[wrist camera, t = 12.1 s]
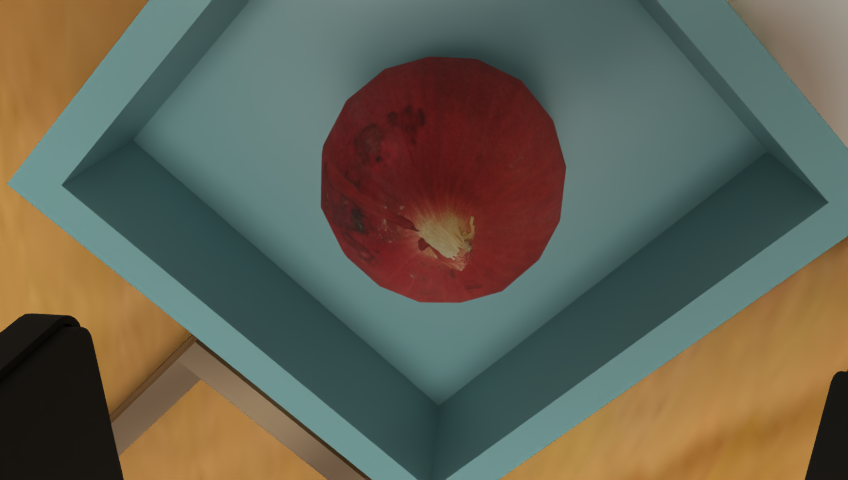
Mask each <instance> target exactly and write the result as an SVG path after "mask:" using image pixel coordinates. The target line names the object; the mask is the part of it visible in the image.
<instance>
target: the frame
mask: <svg viewBox="0 0 848 480" xmlns="http://www.w3.org/2000/svg"><path fill="white" fill-rule="evenodd" d="M200 379H202V380H203V381H204V382H205V383H207V384H208V385H209V386H211V387H212V388H213V389H214V390H216V391H217V392H218V393H219V394H221V395H222V396H223V397H224V398H226V399H227V400H228V401H229V402H231V403H232V404H233V405H234V406H236V407H237V408H238V409H239V410H241V411H242V412H243V413H245V414H246V415H247V416H248V417H250V418H251V419H252V420H253V421H255V422H256V423H257V424H258V425H260V426H261V427H262V428H263V429H265V430H266V431H267V432H268V433H270V434H271V435H272V436H274V437H275V438H276V439H277V440H279V441H280V442H281V443H282V444H284V445H285V446H286V447H287V448H289V449H290V450H291V451H292V452H294V453H295V454H296V455H297V456H299V457H300V458H301V459H303V460H304V461H305V462H306V463H308V464H309V465H310V466H311V467H313V468H314V469H315V470H316V471H318V472H319V473H320V474H321V475H323V476H324V477H325V478H326V479H328V480H372V479H371V478H370V477H368V476H367V475H366V474H365V473H363V472H362V471H361V470H360V469H358V468H357V467H356V466H355V465H353V464H352V463H351V462H350V461H349V460H347V459H346V458H345V457H344V456H342V455H341V454H340V453H339V452H337V451H336V450H335V449H334V448H332V447H331V446H330V445H329V444H328V443H326V442H325V441H324V440H323V439H321V438H320V437H319V436H318V435H316V434H315V433H314V432H313V431H311V430H310V429H309V428H308V427H307V426H305V425H304V424H303V423H302V422H300V421H299V420H298V419H297V418H295V417H294V416H293V415H292V414H290V413H289V412H288V411H287V410H286V409H284V408H283V407H282V406H281V405H279V404H278V403H277V402H276V401H274V400H273V399H272V398H271V397H269V396H268V395H267V394H266V393H264V392H263V391H262V390H261V389H260V388H258V387H257V386H256V385H255V384H253V383H252V382H251V381H250V380H248V379H247V378H246V377H245V376H243V375H242V374H241V373H240V372H239V371H237V370H236V369H235V368H234V367H232V366H231V365H230V364H229V363H227V362H226V361H225V360H224V359H222V358H221V357H220V356H219V355H218V354H216V353H215V352H214V351H213V350H211V349H210V348H209V347H208V346H206V345H205V344H204V343H203V342H201V341H200V340H199V339H198V338H197V337H195V336H194V335H192V336H191V337H189V338H188V339H187V340H186V341H185V342H184V343H183V344H182V345H181V346H180V347H179V348H178V349H177V350H176V351H175V352H174V353H173V354H172V355H171V356H170V357H169V358H168V359H167V360H166V361H165V362H164V363H163V364H162V365H161V366H160V367H159V368H158V369H157V370H156V371H155V372H154V373H153V374H152V375H151V376H150V377H149V378H148V379H147V380H146V381H145V382H144V383H143V384H142V385H141V386H140V387H139V388H138V389H137V390H136V391H135V392H134V393H132V394H131V395H130V396H129V397H128V398H127V399H126V400H125V401H124V402H123V403H122V404H121V405H120V406H119V407H118V408H117V409H116V410H115V411H114V412H113V413H112V414H111V415H110V416H109V417H110V421H111V426H112V430H113V434H114V439H115V443H116V448H117V452H118V456H119V455H121V454H122V453H123V452H124V451H125V450H126V449H127V448H128V447H129V446H130V445H131V444H132V443H133V442H134V441H135V440H136V439H138V438H139V437H140V436H141V435H142V434H143V433H144V432H145V431H146V430H147V429H148V428H149V427H150V426H151V425H152V424H153V423H155V422H156V421H157V420H158V419H159V418H160V417H161V416H162V415H163V414H164V413H165V412H166V411H167V410H168V409H169V408H170V407H172V406H173V405H174V404H175V403H176V402H177V401H178V400H179V399H180V398H181V397H182V396H183V395H184V394H185V393H186V392H187V391H189V390H190V389H191V388H192V387H193V386H194V385H195V384H196V383H197V382H198V381H199V380H200Z"/></svg>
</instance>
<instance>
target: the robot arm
mask: <svg viewBox="0 0 848 480" xmlns="http://www.w3.org/2000/svg"><path fill="white" fill-rule="evenodd" d="M0 480H124V479H123V475H122V470H121V466H120V461H119V457H118V452H117V448H116V443H115V439H114V434H113V430H112V426H111V421H110V417H109V412H108V408H107V403H106V399H105V394H104V390H103V385H102V381H101V376H100V372H99V367H98V363H97V359H96V354H95V350H94V345H93V341H92V337H91V334H90V332H89V331H88V330H87V329H86V328H83V327H81V326H80V324H79V322H78V321H77V320H76V319H75V318H74V317H72V316H68V315H50V314H33V313H32V314H25V315H23V316H21V317H19V318H18V319H17V320H16V321H14V322H13V323H12V324H11V325H9V326H8V327H7V328H6V329H5V330H3V331H2V332H1V333H0ZM805 480H848V371H847V372H843V371H840V372H837V373H836V374H835V375H834V377H833V379H832V381H831V384H830V388H829V392H828V395H827V399H826V403H825V407H824V410H823V414H822V418H821V421H820V425H819V429H818V433H817V436H816V440H815V444H814V448H813V451H812V455H811V459H810V462H809V466H808V470H807V474H806V477H805Z"/></svg>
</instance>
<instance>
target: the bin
mask: <svg viewBox="0 0 848 480" xmlns="http://www.w3.org/2000/svg"><path fill="white" fill-rule="evenodd" d="M429 56H431V57H451V58H470V59H478V60H480V61H482V62H484V63H486V64H488V65H491V66H493V67H495V68H497V69H499V70H501V71H503V72H505V73H507V74H509V75H511V76H513V77H515V78H517V79H519V80H521V81H522V82H523V83H524V84H525V85H526V87H527V88H528V89H529V90H530V92H531V93H532V94H533V95H534V97H535V98H536V99H537V100H538V102H539V103H540V104H541V106H542V107H543V108H544V109H545V111H546V112H547V113H548V114H549V116H550V117H551V118H552V119H553V121H554V125H555V128H556V132H557V136H558V139H559V143H560V146H561V150H562V153H563V157H564V161H565V164H566V174H565V182H564V191H563V200H562V208H561V217H560V222H559V224H558V225H557V227H556V229H555V231H554V233H553V235H552V237H551V239H550V240H549V242H548V244H547V246H546V248H545V250H544V252H543V254H542V255H541V257H540V259H539V260H538V261H537V262H536V263H535V264H533V265H532V266H531V267H530V268H529V269H528V270H526V271H525V272H524V273H523V274H522V275H521V276H519V277H518V278H517V279H516V280H515V281H514V282H512V283H511V284H510V285H509V286H508V287H507V288H505V289H504V290H503V291H502V292H498V293H495V294H491V295H487V296H484V297H480V298H476V299H473V300H469V301H465V302H462V303H420V302H418V301H415V300H413V299H410V298H408V297H405V296H403V295H400V294H398V293H395V292H393V291H390V290H388V289H385V288H383V287H380V286H379V285H377V284H376V283H375V282H374V281H373V280H372V279H371V278H370V277H369V276H367V275H366V274H365V273H364V272H363V271H362V270H361V269H360V268H358V267H357V266H356V265H355V264H354V263H353V262H352V261H351V260H349V259H348V258H347V257H346V255H345V254H344V252H343V251H342V249H341V247H340V245H339V243H338V241H337V239H336V237H335V235H334V233H333V231H332V229H331V227H330V225H329V223H328V221H327V219H326V217H325V215H324V213H323V211H322V209H321V162H322V149H323V144H324V143H325V141H326V139H327V137H328V135H329V133H330V131H331V129H332V127H333V125H334V123H335V121H336V119H337V118H338V116H339V114H340V112H341V110H342V108H343V106H344V104H345V102H346V100H348V99H349V98H350V97H351V96H352V95H354V94H355V93H356V92H357V91H358V90H360V89H361V88H362V87H363V86H365V85H366V84H367V83H368V82H369V81H371V80H372V79H373V78H374V77H375V76H377V75H378V74H379V73H380V72H382V71H383V70H384V69H387V68H390V67H394V66H397V65H401V64H405V63H408V62H412V61H415V60H419V59H422V58H426V57H429ZM7 185H9V186H10V187H11V188H12V189H14V190H15V191H16V192H17V193H19V194H20V195H21V196H22V197H24V198H25V199H26V200H27V201H28V202H30V203H31V204H32V205H33V206H35V207H36V208H37V209H38V210H40V211H41V212H42V213H43V214H45V215H46V216H47V217H48V218H49V219H51V220H52V221H53V222H54V223H56V224H57V225H58V226H59V227H61V228H62V229H63V230H64V231H66V232H67V233H68V234H69V235H70V236H72V237H73V238H74V239H75V240H77V241H78V242H79V243H80V244H82V245H83V246H84V247H85V248H87V249H88V250H89V251H90V252H91V253H93V254H94V255H95V256H96V257H98V258H99V259H100V260H101V261H103V262H104V263H105V264H106V265H108V266H109V267H110V268H111V269H113V270H114V271H115V272H116V273H117V274H119V275H120V276H121V277H122V278H124V279H125V280H126V281H127V282H129V283H130V284H131V285H132V286H134V287H135V288H136V289H137V290H138V291H140V292H141V293H142V294H143V295H145V296H146V297H147V298H148V299H150V300H151V301H152V302H153V303H155V304H156V305H157V306H158V307H159V308H161V309H162V310H163V311H164V312H166V313H167V314H168V315H169V316H171V317H172V318H173V319H174V320H176V321H177V322H178V323H179V324H180V325H182V326H183V327H184V328H185V329H187V330H188V331H189V332H190V333H192V334H193V335H194V336H195V337H197V338H198V339H199V340H200V341H201V342H203V343H204V344H205V345H206V346H208V347H209V348H210V349H211V350H213V351H214V352H215V353H216V354H218V355H219V356H220V357H221V358H222V359H224V360H225V361H226V362H227V363H229V364H230V365H231V366H232V367H234V368H235V369H236V370H237V371H239V372H240V373H241V374H242V375H243V376H245V377H246V378H247V379H248V380H250V381H251V382H252V383H253V384H255V385H256V386H257V387H258V388H260V389H261V390H262V391H263V392H264V393H266V394H267V395H268V396H269V397H271V398H272V399H273V400H274V401H276V402H277V403H278V404H279V405H281V406H282V407H283V408H284V409H286V410H287V411H288V412H289V413H290V414H292V415H293V416H294V417H295V418H297V419H298V420H299V421H300V422H302V423H303V424H304V425H305V426H307V427H308V428H309V429H310V430H311V431H313V432H314V433H315V434H316V435H318V436H319V437H320V438H321V439H323V440H324V441H325V442H326V443H328V444H329V445H330V446H331V447H332V448H334V449H335V450H336V451H337V452H339V453H340V454H341V455H342V456H344V457H345V458H346V459H347V460H349V461H350V462H351V463H352V464H353V465H355V466H356V467H357V468H358V469H360V470H361V471H362V472H363V473H365V474H366V475H367V476H368V477H370V478H371V479H372V480H499V479H500V478H502V477H503V476H504V475H506V474H507V473H509V472H510V471H512V470H513V469H514V468H516V467H517V466H519V465H520V464H522V463H523V462H524V461H526V460H527V459H529V458H530V457H532V456H533V455H534V454H536V453H537V452H539V451H540V450H542V449H543V448H545V447H546V446H547V445H549V444H550V443H552V442H553V441H555V440H556V439H557V438H559V437H560V436H562V435H563V434H565V433H566V432H567V431H569V430H570V429H572V428H573V427H575V426H576V425H577V424H579V423H580V422H582V421H583V420H585V419H586V418H587V417H589V416H590V415H592V414H593V413H595V412H596V411H598V410H599V409H600V408H602V407H603V406H605V405H606V404H608V403H609V402H610V401H612V400H613V399H615V398H616V397H618V396H619V395H620V394H622V393H623V392H625V391H626V390H628V389H629V388H630V387H632V386H633V385H635V384H636V383H638V382H639V381H640V380H642V379H643V378H645V377H646V376H648V375H649V374H651V373H652V372H653V371H655V370H656V369H658V368H659V367H661V366H662V365H663V364H665V363H666V362H668V361H669V360H671V359H672V358H673V357H675V356H676V355H678V354H679V353H681V352H682V351H683V350H685V349H686V348H688V347H689V346H691V345H692V344H693V343H695V342H696V341H698V340H699V339H701V338H702V337H704V336H705V335H706V334H708V333H709V332H711V331H712V330H714V329H715V328H716V327H718V326H719V325H721V324H722V323H724V322H725V321H726V320H728V319H729V318H731V317H732V316H734V315H735V314H736V313H738V312H739V311H741V310H742V309H744V308H745V307H747V306H748V305H749V304H751V303H752V302H754V301H755V300H757V299H758V298H759V297H761V296H762V295H764V294H765V293H767V292H768V291H769V290H771V289H772V288H774V287H775V286H777V285H778V284H779V283H781V282H782V281H784V280H785V279H787V278H788V277H789V276H791V275H792V274H794V273H795V272H797V271H798V270H800V269H801V268H802V267H804V266H805V265H807V264H808V263H810V262H811V261H812V260H814V259H815V258H817V257H818V256H820V255H821V254H822V253H824V252H825V251H827V250H828V249H830V248H831V247H832V246H834V245H835V244H837V243H838V242H840V241H841V240H842V239H844V238H845V237H847V236H848V148H847V147H846V146H845V145H844V144H843V142H842V141H841V140H840V139H839V137H838V136H837V135H836V134H835V133H834V131H833V130H832V129H831V128H830V127H829V125H828V124H827V123H826V122H825V121H824V119H823V118H822V117H821V116H820V114H819V113H818V112H817V111H816V109H815V108H814V107H813V106H812V105H811V103H810V102H809V101H808V100H807V99H806V97H805V96H804V95H803V94H802V92H801V91H800V90H799V89H798V88H797V86H796V85H795V84H794V83H793V81H792V80H791V79H790V78H789V77H788V75H787V74H786V73H785V72H784V70H783V69H782V68H781V67H780V66H779V64H778V63H777V62H776V61H775V60H774V58H773V57H772V56H771V55H770V53H769V52H768V51H767V50H766V49H765V47H764V46H763V45H762V44H761V42H760V41H759V40H758V39H757V38H756V36H755V35H754V34H753V33H752V32H751V30H750V29H749V28H748V27H747V25H746V24H745V23H744V22H743V21H742V19H741V18H740V17H739V16H738V14H737V13H736V12H735V11H734V10H733V8H732V7H731V6H730V5H729V3H728V2H727V1H726V0H149V1H148V2H147V4H146V5H145V6H144V8H143V9H142V10H141V12H140V13H139V14H138V15H137V17H136V18H135V19H134V21H133V22H132V23H131V24H130V26H129V27H128V28H127V30H126V31H125V32H124V34H123V35H122V36H121V37H120V39H119V40H118V41H117V43H116V44H115V45H114V46H113V48H112V49H111V50H110V52H109V53H108V54H107V55H106V57H105V58H104V59H103V61H102V62H101V63H100V65H99V66H98V67H97V68H96V70H95V71H94V72H93V74H92V75H91V76H90V77H89V79H88V80H87V81H86V83H85V84H84V85H83V86H82V88H81V89H80V90H79V92H78V93H77V94H76V96H75V97H74V98H73V99H72V101H71V102H70V103H69V105H68V106H67V107H66V108H65V110H64V111H63V112H62V114H61V115H60V116H59V117H58V119H57V120H56V121H55V123H54V124H53V125H52V127H51V128H50V129H49V130H48V132H47V133H46V134H45V136H44V137H43V138H42V139H41V141H40V142H39V143H38V145H37V146H36V147H35V148H34V150H33V151H32V152H31V154H30V155H29V156H28V158H27V159H26V160H25V161H24V163H23V164H22V165H21V167H20V168H19V169H18V170H17V172H16V173H15V174H14V176H13V177H12V178H11V180H10V181H9V182H8V183H7Z"/></svg>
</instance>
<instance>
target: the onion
mask: <svg viewBox="0 0 848 480" xmlns="http://www.w3.org/2000/svg"><path fill="white" fill-rule="evenodd" d="M565 174H566V164H565V161H564V157H563V153H562V150H561V146H560V143H559V139H558V136H557V132H556V128H555V125H554V121H553V119H552V118H551V117H550V116H549V114H548V113H547V112H546V111H545V109H544V108H543V107H542V106H541V104H540V103H539V102H538V100H537V99H536V98H535V97H534V95H533V94H532V93H531V92H530V90H529V89H528V88H527V87H526V85H525V84H524V83H523V82H522V81H521V80H519V79H517V78H515V77H513V76H511V75H509V74H507V73H505V72H503V71H501V70H499V69H497V68H495V67H493V66H491V65H488V64H486V63H484V62H482V61H480V60H478V59H470V58H451V57H431V56H429V57H426V58H422V59H419V60H415V61H412V62H408V63H405V64H401V65H397V66H394V67H390V68H387V69H384V70H383V71H382V72H380V73H379V74H378V75H377V76H375V77H374V78H373V79H372V80H371V81H369V82H368V83H367V84H366V85H365V86H363V87H362V88H361V89H360V90H358V91H357V92H356V93H355V94H354V95H352V96H351V97H350V98H349V99H348V100H346V102H345V104H344V106H343V108H342V110H341V112H340V114H339V116H338V118H337V119H336V121H335V123H334V125H333V127H332V129H331V131H330V133H329V135H328V137H327V139H326V141H325V143H324V144H323V149H322V162H321V209H322V211H323V213H324V215H325V217H326V219H327V221H328V223H329V225H330V227H331V229H332V231H333V233H334V235H335V237H336V239H337V241H338V243H339V245H340V247H341V249H342V251H343V252H344V254H345V255H346V257H347V258H348V259H349V260H351V261H352V262H353V263H354V264H355V265H356V266H357V267H358V268H360V269H361V270H362V271H363V272H364V273H365V274H366V275H367V276H369V277H370V278H371V279H372V280H373V281H374V282H375V283H376V284H377V285H379V286H380V287H383V288H385V289H388V290H390V291H393V292H395V293H398V294H400V295H403V296H405V297H408V298H410V299H413V300H415V301H418V302H420V303H462V302H465V301H469V300H473V299H476V298H480V297H484V296H487V295H491V294H495V293H498V292H502V291H503V290H504V289H505V288H507V287H508V286H509V285H510V284H511V283H512V282H514V281H515V280H516V279H517V278H518V277H519V276H521V275H522V274H523V273H524V272H525V271H526V270H528V269H529V268H530V267H531V266H532V265H533V264H535V263H536V262H537V261H538V260H539V259H540V257H541V255H542V254H543V252H544V250H545V248H546V246H547V244H548V242H549V240H550V239H551V237H552V235H553V233H554V231H555V229H556V227H557V225H558V224H559V222H560V217H561V208H562V200H563V191H564V182H565Z"/></svg>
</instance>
